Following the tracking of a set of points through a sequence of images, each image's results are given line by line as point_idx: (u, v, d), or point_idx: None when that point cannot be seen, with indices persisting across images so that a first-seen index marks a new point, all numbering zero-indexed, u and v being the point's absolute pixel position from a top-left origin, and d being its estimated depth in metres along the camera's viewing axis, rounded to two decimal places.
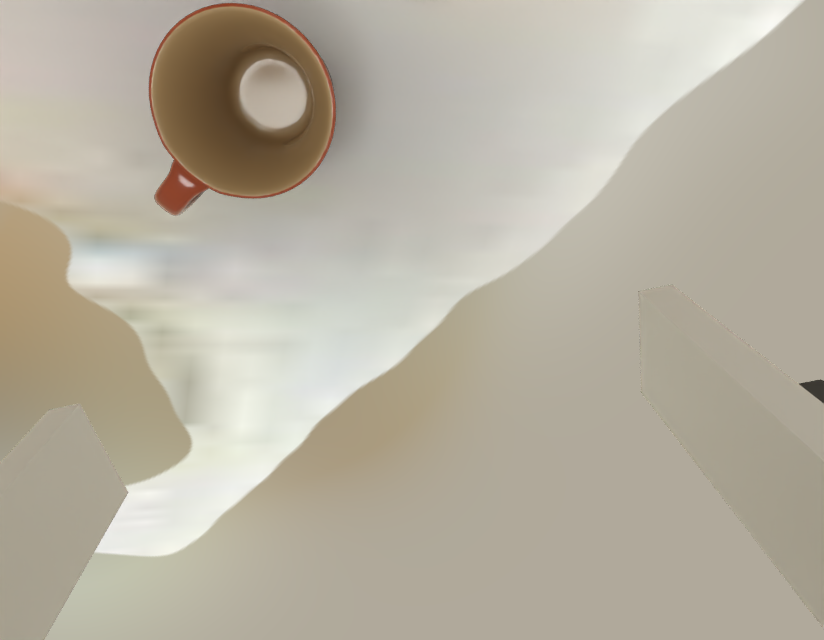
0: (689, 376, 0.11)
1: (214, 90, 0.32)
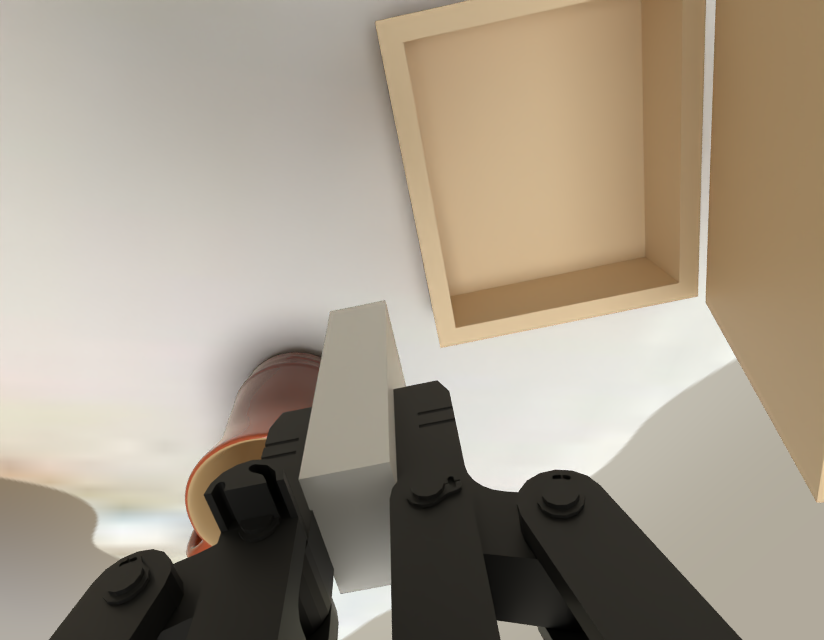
0: None
1: None
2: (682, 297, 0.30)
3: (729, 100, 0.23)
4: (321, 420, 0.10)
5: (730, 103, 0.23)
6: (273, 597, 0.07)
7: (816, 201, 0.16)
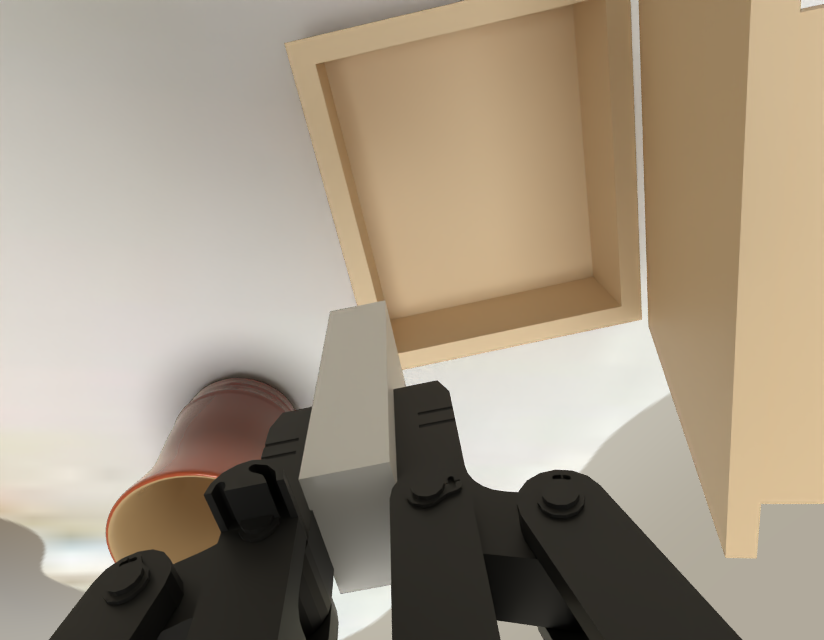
0: None
1: None
2: (625, 320, 0.29)
3: (652, 122, 0.22)
4: (321, 420, 0.10)
5: (653, 125, 0.22)
6: (273, 597, 0.07)
7: (709, 240, 0.15)
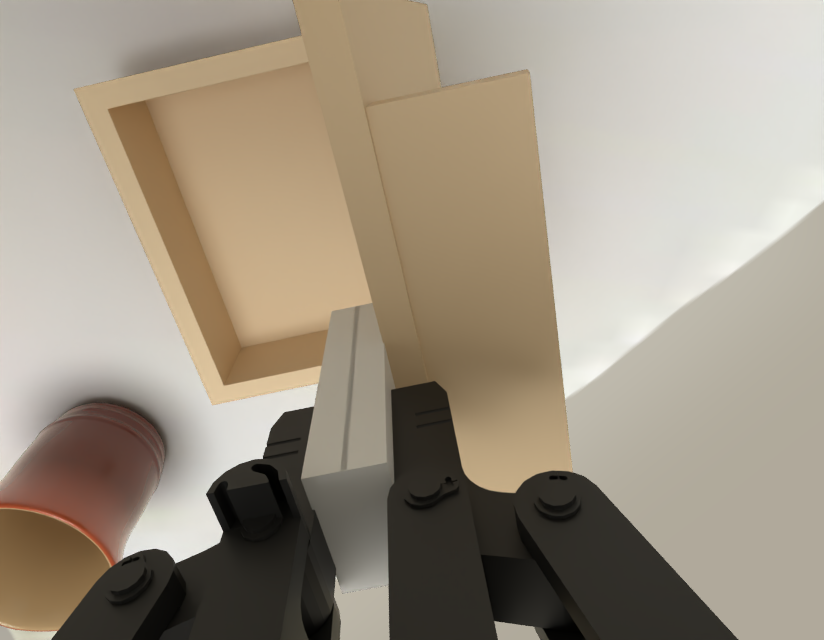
0: None
1: None
2: None
3: None
4: (323, 420, 0.10)
5: None
6: (276, 597, 0.07)
7: None
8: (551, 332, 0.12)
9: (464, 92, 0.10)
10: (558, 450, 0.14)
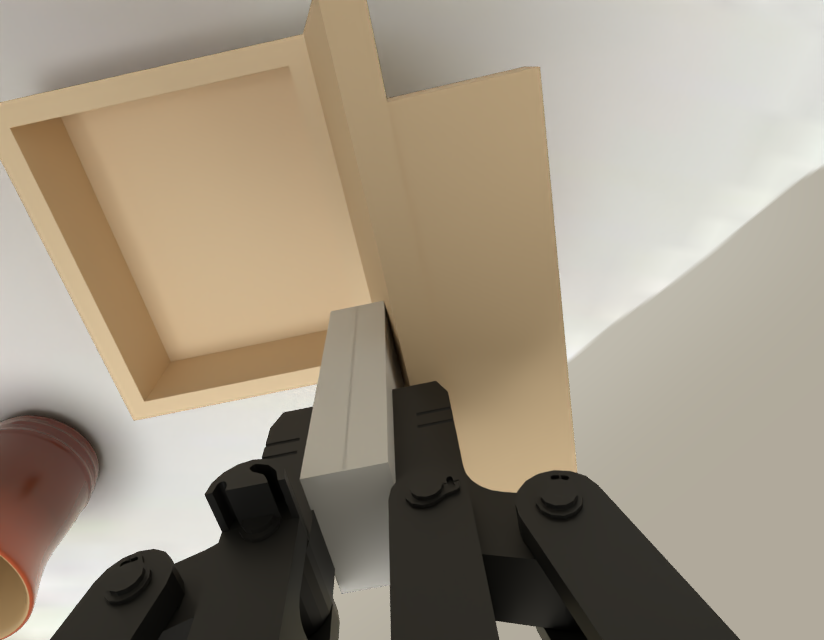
0: None
1: None
2: None
3: (344, 187, 0.22)
4: (322, 420, 0.10)
5: (345, 190, 0.22)
6: (274, 597, 0.07)
7: (386, 310, 0.15)
8: (557, 310, 0.13)
9: (483, 85, 0.11)
10: (562, 425, 0.14)
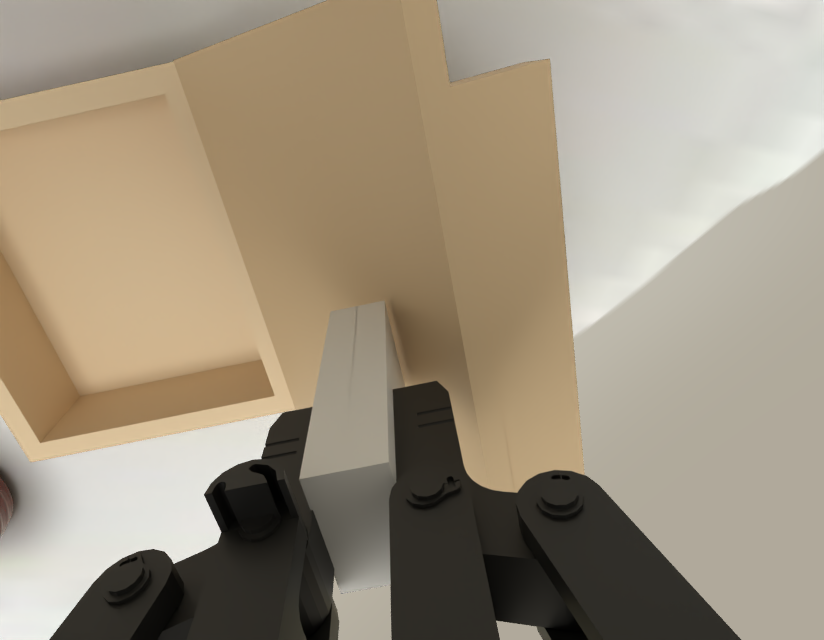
0: None
1: None
2: (283, 410, 0.28)
3: (250, 217, 0.21)
4: (321, 420, 0.10)
5: (252, 220, 0.21)
6: (274, 597, 0.07)
7: (398, 311, 0.15)
8: (565, 276, 0.15)
9: (515, 73, 0.12)
10: (570, 382, 0.16)
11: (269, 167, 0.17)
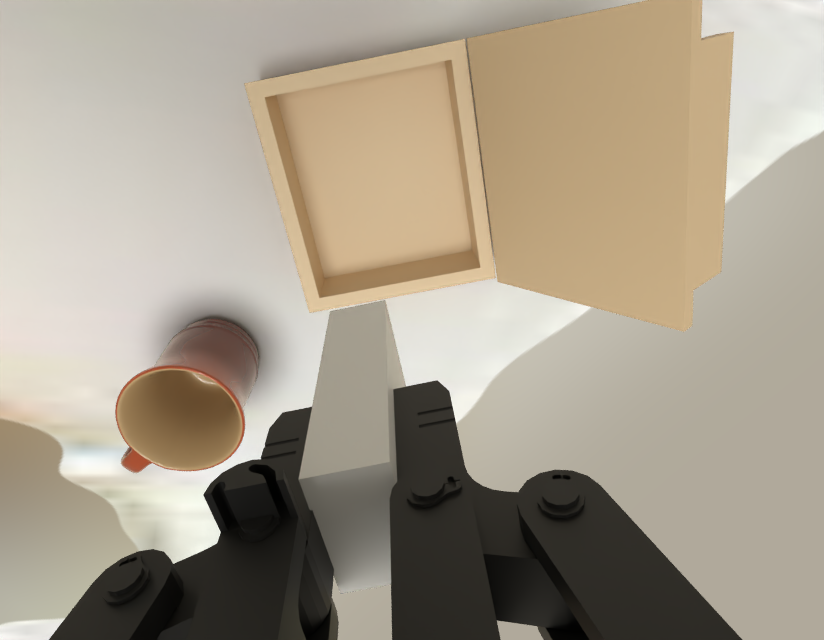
0: None
1: (166, 376, 0.44)
2: (484, 278, 0.42)
3: (508, 133, 0.35)
4: (321, 420, 0.10)
5: (510, 135, 0.34)
6: (273, 597, 0.07)
7: (639, 163, 0.28)
8: (726, 146, 0.28)
9: (721, 37, 0.26)
10: (721, 210, 0.30)
11: (546, 95, 0.31)
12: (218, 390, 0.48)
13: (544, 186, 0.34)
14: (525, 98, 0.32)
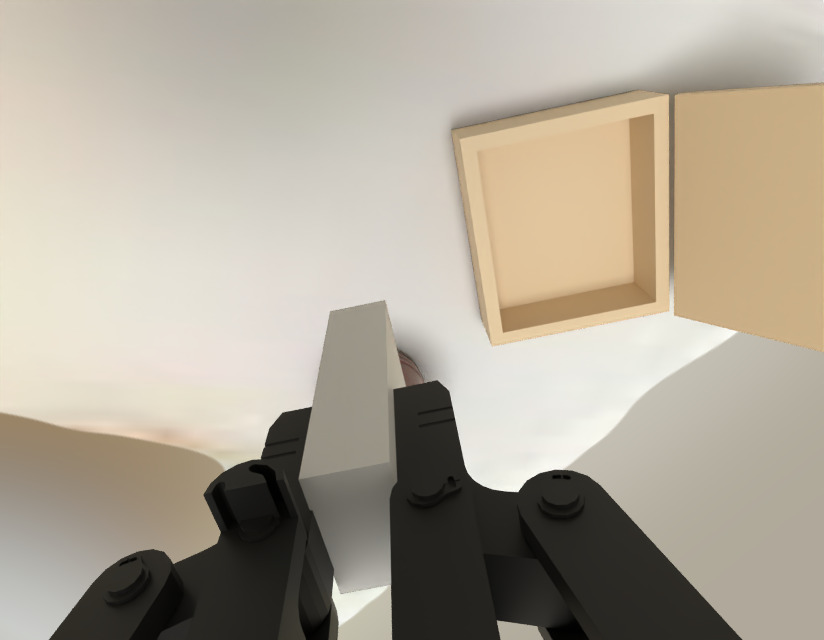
0: None
1: None
2: (658, 311, 0.44)
3: (712, 183, 0.37)
4: (321, 420, 0.10)
5: (715, 184, 0.37)
6: (273, 597, 0.07)
7: None
8: None
9: None
10: None
11: (768, 153, 0.34)
12: None
13: (750, 233, 0.36)
14: (740, 153, 0.35)
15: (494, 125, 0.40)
